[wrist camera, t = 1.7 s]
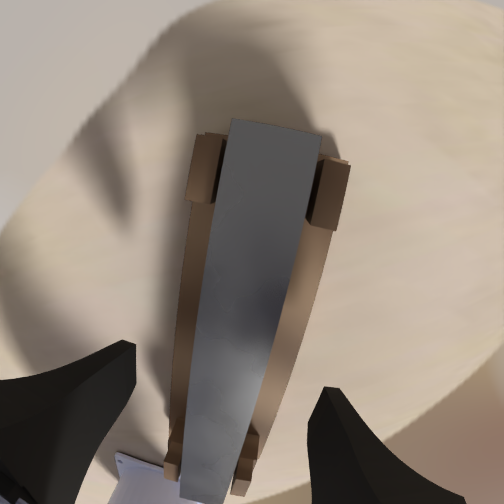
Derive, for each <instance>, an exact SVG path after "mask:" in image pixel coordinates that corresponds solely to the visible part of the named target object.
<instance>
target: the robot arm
mask: <svg viewBox="0 0 504 504" xmlns="http://www.w3.org/2000/svg"><path fill="white" fill-rule="evenodd" d="M135 386H136V344H134V343H131V342H128V341H125V340H120V341H118V342H116V343H114V344H112V345H110V346H108V347H106V348H104V349H101V350H99V351H97V352H95V353H93V354H91V355H89V356H87V357H85V358H82V359H80V360H78V361H75V362H73V363H70V364H68V365H65V366H63V367H60V368H57V369H54V370H51V371H48V372H44V373H41V374H37V375H33V376H27V377H21V378H16V379H8V380H0V504H75V501H76V498H77V495H78V493H79V490H80V487H81V485H82V482H83V480H84V477H85V475H86V473H87V470H88V468H89V466H90V463H91V461H92V459H93V457H94V455H95V453H96V451H97V449H98V447H99V445H100V444H101V442H102V440H103V439H104V437H105V436H106V434H107V433H108V431H109V430H110V428H111V427H112V425H113V424H114V422H115V421H116V419H117V418H118V416H119V415H120V413H121V412H122V410H123V409H124V407H125V406H126V404H127V402H128V400H129V398H130V396H131V394H132V392H133V390H134V388H135ZM307 448H308V459H309V469H310V478H311V488H312V504H466V502H465V499H464V497H462V496H460V495H458V494H455V493H453V492H450V491H448V490H446V489H444V488H442V487H440V486H438V485H436V484H434V483H433V482H431V481H429V480H427V479H426V478H424V477H423V476H421V475H420V474H418V473H417V472H415V471H414V470H413V469H411V468H410V467H409V466H407V465H406V464H405V463H403V462H402V461H401V460H400V459H398V458H397V457H396V456H395V455H394V454H393V453H392V452H391V451H390V450H389V449H388V448H387V447H386V446H385V445H384V444H383V443H382V442H381V441H380V440H379V439H378V438H377V436H376V435H375V434H374V433H373V432H372V431H371V429H370V428H369V427H368V426H367V425H366V423H365V422H364V421H363V420H362V418H361V417H360V416H359V414H358V413H357V412H356V410H355V409H354V408H353V406H352V405H351V403H350V402H349V401H348V399H347V398H346V396H345V395H344V394H343V392H342V391H341V390H340V388H334V387H325V386H324V388H323V390H322V393H321V395H320V397H319V399H318V402H317V404H316V406H315V408H314V410H313V413H312V415H311V417H310V419H309V421H308V432H307ZM115 461H116V465H117V469H118V473H119V477H120V479H119V482H118V484H117V486H116V488H115V490H114V492H113V494H112V496H111V498H110V500H109V502H108V504H202V503H199V502H195V501H191V500H187V499H183V498H180V497H179V494H180V478H181V473H180V476H179V479H178V482H175V481H171V480H168V479H165V478H164V468H162V467H159V466H156V465H152V464H149V463H147V462H144V461H141V460H138V459H135V458H133V457H130V456H127V455H125V454H122V453H119V452H117V453H116V454H115Z"/></svg>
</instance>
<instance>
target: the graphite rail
mask: <svg viewBox="0 0 504 504" xmlns="http://www.w3.org/2000/svg"><path fill="white" fill-rule="evenodd" d="M321 139H322V136H319V135H315V134H311V133H307V132H302V131H298V130H293V129H289V128H284V127H279V126H274V125H269V124H263V123H258V122H252V121H246V120H240V119H233V118H232V122H231V126H230V131H229V136H228V141H227V146H226V150H225V155H224V161H223V166H222V171H221V176H220V181H219V187H218V192H217V197H216V203H215V208H214V214H213V220H212V225H211V231H210V237H209V243H208V249H207V255H206V262H205V268H204V275H203V281H202V288H201V294H200V301H199V308H198V316H197V323H196V330H195V338H194V346H193V354H192V362H191V370H190V379H189V388H188V397H187V407H186V417H185V428H184V439H183V451H182V464H181V478H180V494H179V497H180V498H183V499H187V500H191V501H195V502H199V503H204V504H223V502H224V499H225V497H226V494H227V491H228V488H229V485H230V482H231V479H232V476H233V473H234V470H235V467H236V464H237V461H238V458H239V455H240V452H241V449H242V446H243V443H244V440H245V437H246V434H247V431H248V427H249V424H250V421H251V418H252V414H253V411H254V408H255V405H256V401H257V398H258V395H259V391H260V388H261V385H262V381H263V378H264V374H265V371H266V367H267V364H268V360H269V357H270V353H271V350H272V346H273V342H274V339H275V335H276V331H277V328H278V324H279V320H280V317H281V313H282V309H283V305H284V301H285V297H286V294H287V290H288V286H289V282H290V278H291V274H292V270H293V266H294V262H295V257H296V253H297V249H298V245H299V241H300V236H301V232H302V228H303V224H304V219H305V215H306V210H307V206H308V201H309V197H310V192H311V188H312V183H313V178H314V173H315V169H316V164H317V159H318V154H319V149H320V144H321Z"/></svg>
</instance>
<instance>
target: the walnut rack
mask: <svg viewBox="0 0 504 504" xmlns="http://www.w3.org/2000/svg"><path fill="white" fill-rule="evenodd" d="M227 141H228V136H227V135H221V134H214V133H207V132H206V133H205V135H198V134H197V136H196V140H195V145H194V151H193V156H192V161H191V166H190V172H189V177H188V183H187V189H186V195H185V200H190V201H193V202H192V208H191V214H190V221H189V227H188V234H187V240H186V247H185V254H184V262H183V269H182V277H181V285H180V294H179V303H178V312H177V321H176V332H175V342H174V354H173V367H172V381H171V398H170V418H169V439H168V452H167V454H166V457H165V459H164V478H165V479H168V480H171V481H175V482H178V479H179V476H180V473H181V464H182V451H183V439H184V428H185V417H186V407H187V397H188V388H189V379H190V370H191V362H192V354H193V346H194V338H195V330H196V323H197V316H198V308H199V301H200V294H201V288H202V281H203V275H204V268H205V262H206V255H207V249H208V243H209V237H210V231H211V225H212V220H213V214H214V208H215V203H216V197H217V192H218V187H219V181H220V176H221V171H222V166H223V161H224V155H225V150H226V146H227ZM348 162H349V161H345V160H341V159H337V158H334V157H330V156H326V155H322V154H318V159H317V164H316V169H315V173H314V178H313V183H312V188H311V192H310V197H309V201H308V206H307V210H306V215H305V219H304V224H303V228H302V232H301V236H300V241H299V245H298V249H297V253H296V257H295V262H294V266H293V270H292V274H291V278H290V282H289V286H288V290H287V294H286V297H285V301H284V305H283V309H282V313H281V317H280V320H279V324H278V328H277V331H276V335H275V339H274V342H273V346H272V350H271V353H270V357H269V360H268V364H267V367H266V371H265V374H264V378H263V381H262V385H261V388H260V391H259V395H258V398H257V401H256V405H255V408H254V411H253V414H252V418H251V421H250V424H249V427H248V431H247V434H246V437H245V440H244V443H243V446H242V449H241V452H240V455H239V458H238V461H237V464H236V467H235V470H234V473H233V474H234V475H233V481H232V487H231V492H230V494H231V495H237V496H243V497H244V496H245V494H246V492H247V490H248V488H249V485H250V483H251V479H252V472H253V469H254V467H255V464H256V462H257V458H258V459H259V458H260V455H261V453H262V450H263V448H264V445H265V443H266V440H267V438H268V435H269V433H270V430H271V428H272V425H273V422H274V420H275V417H276V414H277V412H278V409H279V406H280V404H281V401H282V398H283V395H284V393H285V390H286V387H287V384H288V381H289V378H290V375H291V373H292V370H293V367H294V364H295V361H296V358H297V355H298V352H299V349H300V346H301V342H302V339H303V336H304V333H305V330H306V327H307V323H308V320H309V317H310V313H311V310H312V307H313V303H314V300H315V296H316V293H317V290H318V286H319V282H320V279H321V275H322V272H323V268H324V264H325V260H326V257H327V253H328V249H329V245H330V241H331V237H332V233H333V231H336V230H337V226H338V222H339V217H340V213H341V209H342V205H343V200H344V196H345V191H346V187H347V182H348V177H349V173H350V168H351V165H348Z"/></svg>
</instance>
